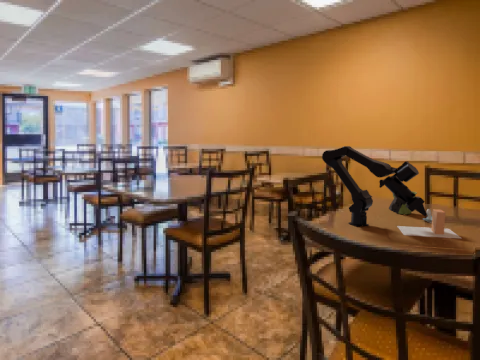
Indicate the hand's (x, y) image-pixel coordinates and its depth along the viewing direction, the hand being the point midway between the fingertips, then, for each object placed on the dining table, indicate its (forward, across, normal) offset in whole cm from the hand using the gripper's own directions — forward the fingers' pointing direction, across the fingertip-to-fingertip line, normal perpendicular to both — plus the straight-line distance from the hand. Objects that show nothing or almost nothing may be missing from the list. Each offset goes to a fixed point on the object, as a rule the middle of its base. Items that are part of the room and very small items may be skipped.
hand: (425, 215), depth 133 cm
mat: (+6, 0, -4) cm, 7 cm away
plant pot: (+5, -37, -6) cm, 37 cm away
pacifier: (+11, -20, 0) cm, 23 cm away
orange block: (+8, 0, -2) cm, 8 cm away
